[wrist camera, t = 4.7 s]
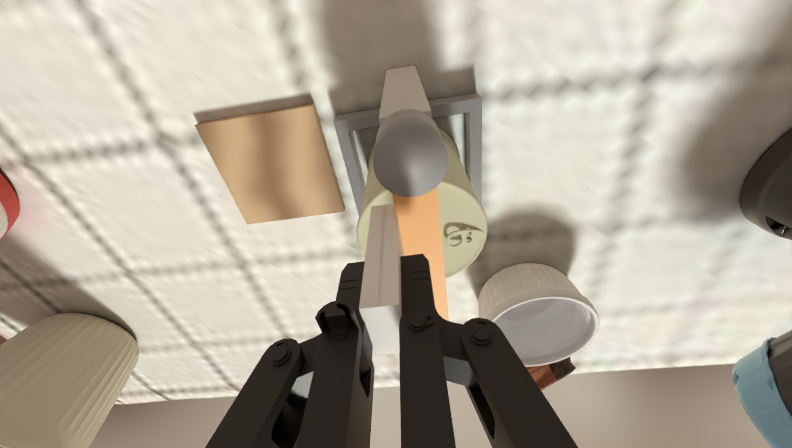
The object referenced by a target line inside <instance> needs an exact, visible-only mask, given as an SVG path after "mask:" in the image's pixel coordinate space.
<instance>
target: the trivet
mask: <svg viewBox="0 0 792 448" xmlns="http://www.w3.org/2000/svg"><path fill="white" fill-rule="evenodd" d="M195 127H196V129H197V131H198V133H199V135H200V136H201V138H202V140H203V142H204V144H205V146H206V148H207V150H208V151H209V153H210V155H211V157H212V159H213V161H214V163H215V165H216V167H217V168H218V170H219V172H220V174H221V176H222V178H223V180H224V182H225V183H226V185H227V187H228V189H229V191H230V193H231V195H232V197H233V199H234V200H235V202H236V204H237V206H238V208H239V210H240V212H241V214H242V215H243V217H244V219H245V221H246V223H247V224H254V223H261V222H269V221H276V220H284V219H292V218H299V217H307V216H314V215H322V214H329V213H337V212H344V210H345V206H344V202H343V199H342V195H341V192H340V189H339V185H338V182H337V178H336V175H335V172H334V168H333V165H332V161H331V158H330V155H329V151H328V148H327V144H326V141H325V138H324V134H323V131H322V127H321V124H320V121H319V117H318V114H317V110H316V107H315V104H310V105H304V106H298V107H292V108H286V109H280V110H273V111H267V112H261V113H255V114H249V115H243V116H237V117H231V118H225V119H219V120H213V121H207V122H201V123H198V124H196V125H195Z"/></svg>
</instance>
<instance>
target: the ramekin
mask: <svg viewBox="0 0 792 448" xmlns="http://www.w3.org/2000/svg"><path fill="white" fill-rule="evenodd" d="M478 308H479V318H484V319H488V320H490V321H492V322H494V323H496V325H497V326H498V327H499V328H500V329H501V330H502V332H503V333H504V335H505V336H506V338H507V339H508V341H509V343H510V344H511V346H512V347H513V349H514V350H515V352H516V353H517V355H518V356H519V358H520V359H521V361H522V362H523V364H524V366H525V367H530V366H541V365H546V364H551V363H554V362H558V361H561V360H563V359H566V358H568V357H570V356H572V355H574V354H576V353H577V352H579V351H581V350H582V349H583V348H585V347H586V346H587V345H588V344H589V343H590V342H591V341H592V340H593V338H594V337H595V335H596V334H597V331H598V329H599V317H598V314H597V312H596V310H595V309H594V307H593V305H592V304H591V303H590V301H589V300H588V299H587V298H585V297H584V296H582V295H581V293H580V292H579V291H578V290H577V288H576V287H575V286H574V285H573V284H572V283H571V281H570V280H569V279H568V278H567V277H566V276H565V275H564V274H563V273H561V272H560V271H558V270H557V269H555V268H553V267H550V266H547V265H543V264H537V263H521V264H516V265H512V266H509V267H507V268H504V269H502V270H500V271H499V272H497V273H495V274H494V275H493V276H492V277H490V278H489V279H488V281H487V282H486V283H485V285H484V286H483V287H482V289H481V291H480V294H479V299H478Z"/></svg>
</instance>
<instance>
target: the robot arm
mask: <svg viewBox="0 0 792 448" xmlns="http://www.w3.org/2000/svg"><path fill="white" fill-rule="evenodd" d="M740 207H741V210H742V213H743V214H744V216H745V217H746V218H747V219H748V220H749V221H751V222H752V223H754V224H756V225H757V226H759V227H761V228H762V229H764V230H766V231H768V232H770V233H772V234H774V235H777V236H779V237H783V238H786V239H790V240H792V129H791V130H790V131H789V132H787V133H786V134H785V135H784V136H783V137H781V138H780V139H779V140H778V141H777V142H776V143H775V144H774V145H773V146H772V147H771V148H770V149H769V150H768V151H767V152H766V153H765V154H764V155H763V156H762V157H761V158H760V160H759V161H758V162H757V163H756V165H755V166H754V168H753V169H752V170H751V172H750V174H749V175H748V177H747V179H746V181H745V183H744V185H743V188H742V192H741V196H740ZM315 318H316V320H317V323H318V325H319V327H320V329H321V331H322V333H321V334H320V335H318V336H316V337H314V338H312V339H309V340H307V341H304V342H302V343H299V344H298V342H297V341H296V340H294V339H291V338H289V339H282V340H279V341H277V342H275V343H274V344H273V345H271V346H270V347H269V348H268V349H267V350H266V352H265V353H264V354H263V356H262V358H261V359H260V361H259V362H258V364H257V366H256V367H255V369H254V370H253V372H252V374H251V375H250V377H249V378H248V380H247V382H246V383H245V385H244V386H243V388H242V390H241V391H240V393H239V394H238V396H237V398H236V399H235V401H234V402H233V404H232V405H231V407H230V409H229V410H228V412H227V413H226V415H225V417H224V418H223V420H222V422H221V423H220V425H219V426H218V428H217V430H216V432H215V433H214V434H213V436H212V438H211V439H210V441H209V442H208V444H207V446H206V447H205V448H370V432H371V417H372V400H373V384H374V365H373V362H372V349H373V351H374V354H375V355H384V354H396V353H400V400H401V401H400V402H401V448H456V447H455V439H454V432H453V425H452V418H451V411H450V404H449V397H448V390H447V383H446V381H449V382H453V383H457V384H461V385H465V387H466V390H467V392H468V394H469V396H470V399H471V401H472V403H473V405H474V407H475V410H476V412H477V414H478V416H479V419H480V421H481V423H482V425H483V427H484V430H485V432H486V434H487V437H488V439H489V441H490V443H491V446H492V448H578V447H577V445H576V444H575V442H574V441H573V439H572V438H571V436H570V434H569V433H568V431H567V430H566V428H565V427H564V425H563V424H562V422H561V421H560V419H559V418H558V416H557V415H556V413H555V412H554V410H553V408H552V407H551V405H550V404H549V402H548V401H547V399H546V398H545V396H544V395H543V393H542V392H541V390H540V388H539V387H538V385H537V384H536V382H535V381H534V379H533V378H532V376H531V375H530V373H529V372H528V370H527V369H526V367H525V366H524V364H523V362H522V361H521V359H520V358H519V356H518V355H517V353H516V352H515V350H514V349H513V347H512V346H511V344H510V343H509V341H508V339H507V338H506V336H505V335H504V333H503V332H502V330H501V329H500V328H499V327H498V326H497V325H496V323H494V322H492V321H490V320H488V319H484V318H474V319H471V320H469V321H467V322H465V324H464V325H463V324H458V323H453V322H450V321H447V320H445V319H443V318H442V317H441V316H440V315H439V314H438V312H437V311H436V308H435V302H434V295H433V288H432V281H431V274H430V266H429V261H428V259H427V258H426V257H425V256H424V254H415V255H407V256H405V254H404V249H403V243H402V238H401V233H400V228H399V222H398V218H396V213H395V208H394V203H393V204H386V205H379V206H371V214H370V222H369V230H368V238H367V246H366V255H365V261H364V262H356V263H348V264H347V265H346V267H345V268H344V270H343V271H342V273H341V277H340V283H339V287H338V292H337V297H336V301H334V302H330V303H328V304H327V305H325V306H323V307H322V308H321V309H320V310H319V311H318V313H317V315H316V317H315ZM732 377H733V383H734V386H735V390H736V394H737V396H738V398H739V400H740V402H741V404H742V406H743V408H744V409H745V411H746V413H747V414H748V416H749V417H750V419H751V421H752V422H753V423H754V425H755V426H756V428H757V429H758V430H759V432H760V433H761V434H762V436H763V437H764V438H765V440H766V441H767V442H768V443H769V445H770V446H771V447H772V448H792V330H791V331H789V332H787V333H785V334H783V335H781V336H779V337H777V338H773V337H772V338H770V339H767V340H766V341H765V342H764V343H763V345H762V346H761V347H760V348H758V349H756V350H755V351H753V352H752V353H750V354H748V355H747V356H745V357H743V358H742V359H740V360H739V361H738V362H737V363H736V364H735V366H734V368H733V372H732Z"/></svg>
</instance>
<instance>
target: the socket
mask: <svg viewBox="0 0 792 448" xmlns="http://www.w3.org/2000/svg"><path fill="white" fill-rule="evenodd" d="M404 109H415V110H419V111H422V112H424V113H426V114H427V115H429V116H430V117H431V118H435V117H442V116H448V115H454V114H461V113H465V118H466V161H467V177H468V180H469V182H470V184H471V186H472V188H473V191H474V193H475V195H476V197H477V199H478V201H479V202H480V204H481V145H482V97H481V96H480V95H479V94H478V93H477V92H476V93H470V94H464V95H458V96H451V97H445V98H439V99H433V100H427V97H426V94H425V91H424V89H423V86H422V83H421V80H420V77H419V75H418V72H417V69H416V66H415V65H412V66H406V67H400V68H394V69H388V70H386V77H385V83H384V89H383V95H382V101H381V107H380V108H377V109H371V110H364V111H358V112H352V113H346V114H340V115H337V116H336V118H335V120H334V125H335V128H336V132H337V136H338V140H339V143H340V147H341V151H342V154H343V158H344V162H345V166H346V169H347V173H348V177H349V181H350V184H351V188H352V192H353V195H354V199H355V203H356V207H357V210H358V214H359V216H360V214H361V210H362V205H363V199H364V194H365V188H366V186H365V182H364V178H363V174H362V170H361V165H360V161H359V157H358V153H357V149H356V144H355V140H354V136H353V132H352V130H358V129H365V128H371V127H377V126H381V124H382V122H383V121H384V120H385V119H386V118H387V117H388V116H390V115H391V114H393V113H394V112H397V111H399V110H404Z"/></svg>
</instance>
